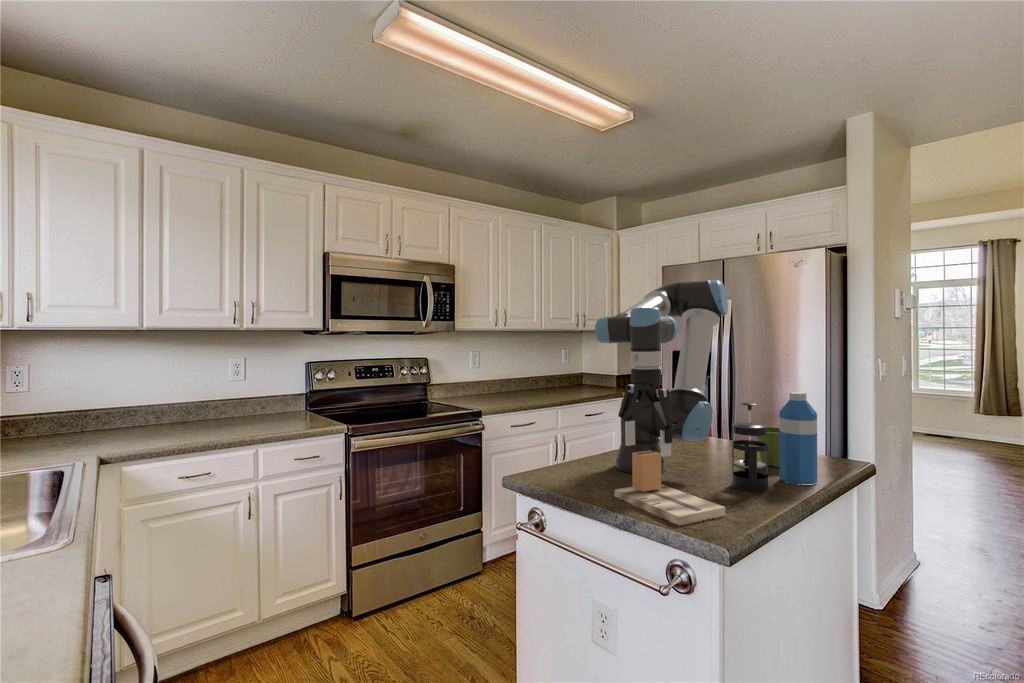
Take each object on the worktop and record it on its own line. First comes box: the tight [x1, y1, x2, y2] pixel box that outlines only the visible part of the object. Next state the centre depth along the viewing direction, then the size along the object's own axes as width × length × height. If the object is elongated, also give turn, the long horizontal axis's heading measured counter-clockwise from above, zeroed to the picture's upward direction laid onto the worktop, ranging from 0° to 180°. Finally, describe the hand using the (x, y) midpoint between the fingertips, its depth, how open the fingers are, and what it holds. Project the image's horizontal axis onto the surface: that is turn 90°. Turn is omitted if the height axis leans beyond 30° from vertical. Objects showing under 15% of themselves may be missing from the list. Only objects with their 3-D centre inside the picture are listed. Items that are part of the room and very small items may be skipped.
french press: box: [731, 402, 770, 493], centre depth 142 cm, size 12×9×23 cm
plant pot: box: [756, 426, 780, 468], centre depth 166 cm, size 12×12×11 cm
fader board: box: [613, 483, 726, 527], centre depth 127 cm, size 23×14×2 cm, turn 26°
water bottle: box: [778, 391, 818, 485], centre depth 147 cm, size 9×9×25 cm
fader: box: [631, 450, 662, 492], centre depth 133 cm, size 4×6×9 cm, turn 116°
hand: (647, 450), depth 134 cm, fingers open, 13 cm apart
